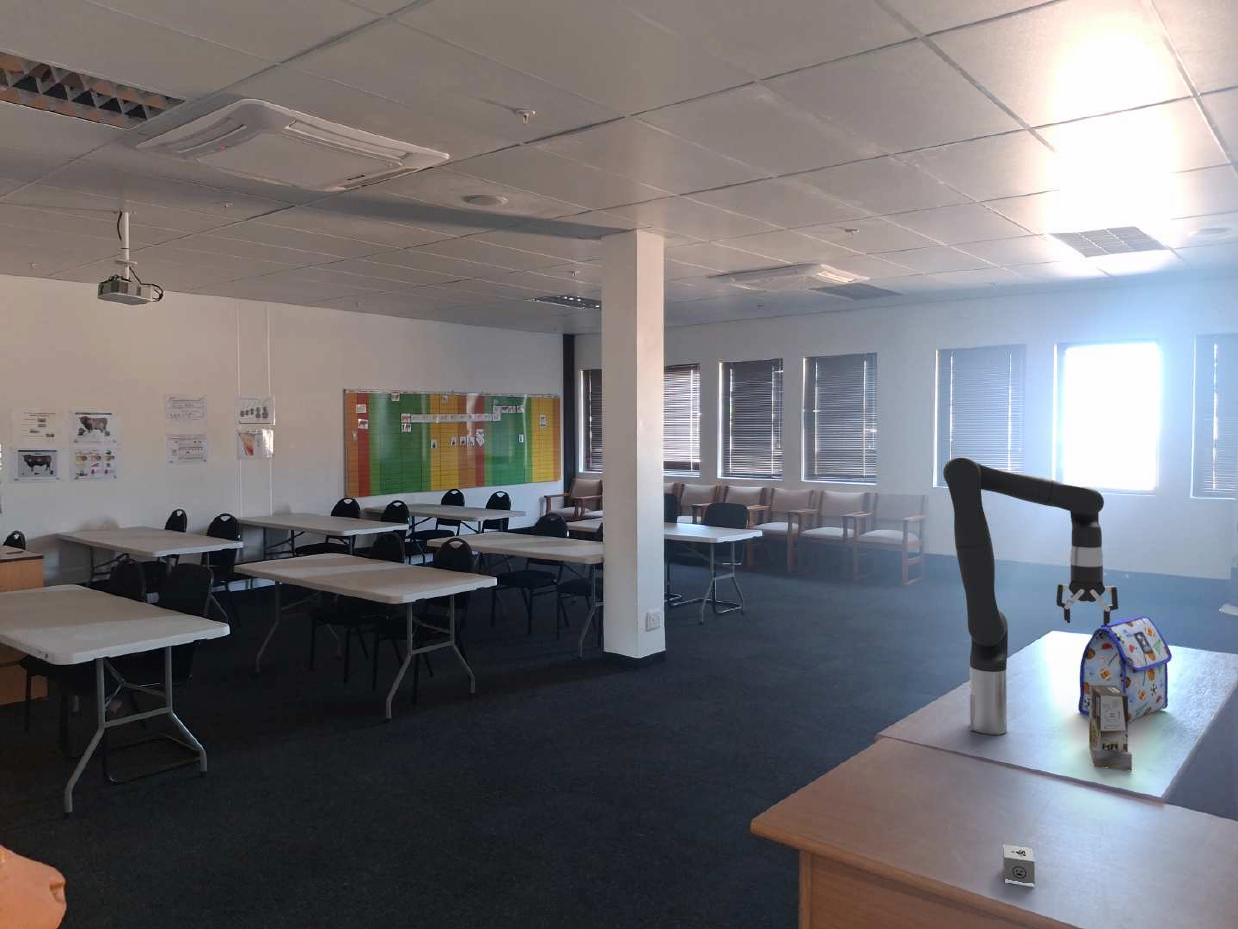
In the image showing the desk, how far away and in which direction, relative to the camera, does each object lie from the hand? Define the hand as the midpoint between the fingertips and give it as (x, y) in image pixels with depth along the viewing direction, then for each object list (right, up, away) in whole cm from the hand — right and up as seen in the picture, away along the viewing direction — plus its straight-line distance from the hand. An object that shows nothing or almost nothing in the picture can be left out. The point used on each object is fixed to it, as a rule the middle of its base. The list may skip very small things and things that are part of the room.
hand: (1086, 623), depth 227 cm
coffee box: (-2, -30, -13) cm, 33 cm away
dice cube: (-50, -35, -67) cm, 91 cm away
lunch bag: (+21, -29, +18) cm, 40 cm away
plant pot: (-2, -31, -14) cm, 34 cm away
